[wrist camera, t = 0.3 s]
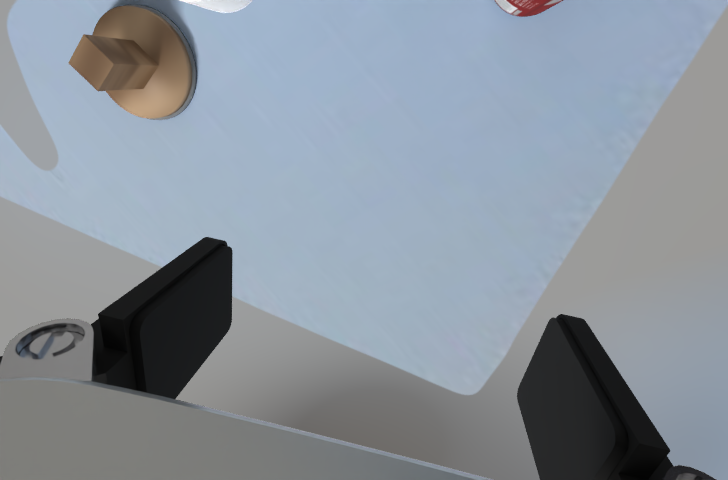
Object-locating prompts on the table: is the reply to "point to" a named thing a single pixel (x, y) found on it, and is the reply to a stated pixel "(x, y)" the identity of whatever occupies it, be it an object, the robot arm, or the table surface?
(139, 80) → the lid
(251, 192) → the table surface
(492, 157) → the table surface
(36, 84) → the table surface
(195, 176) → the table surface
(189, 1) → the base with upright slab
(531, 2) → the soda can
